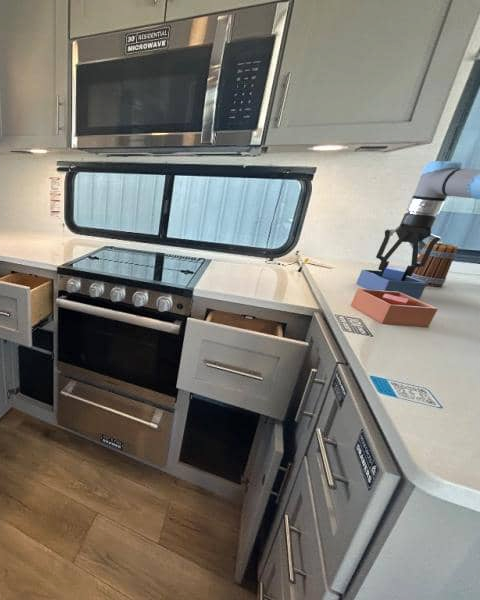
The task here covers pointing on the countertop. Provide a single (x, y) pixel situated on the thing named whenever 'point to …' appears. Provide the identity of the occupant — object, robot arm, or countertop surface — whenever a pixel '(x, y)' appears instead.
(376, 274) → the blue bin
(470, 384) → the countertop surface
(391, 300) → the red block
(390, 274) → the blue block
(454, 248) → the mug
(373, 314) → the terracotta bin
